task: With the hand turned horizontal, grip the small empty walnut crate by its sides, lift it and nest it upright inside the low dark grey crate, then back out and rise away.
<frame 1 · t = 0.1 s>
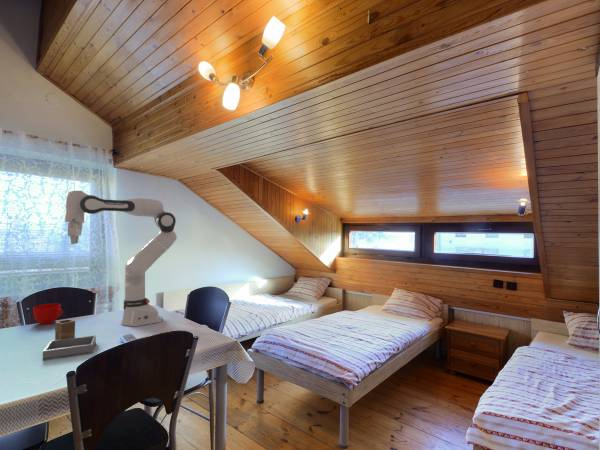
hand: (74, 243, 179), 48 cm above the table, tool pointing down, fingers open, 8 cm apart
walnut crate: (64, 341, 160), on the table
grey crate: (71, 351, 147), on the table
ceramic cup: (49, 323, 190), on the table
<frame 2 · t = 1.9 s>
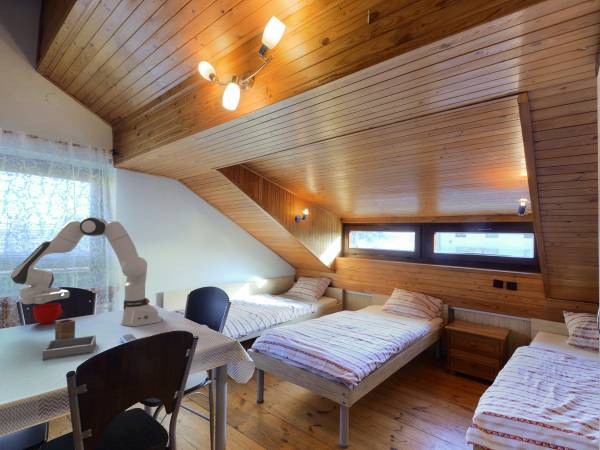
hand: (53, 298, 166), 20 cm above the table, tool horizontal, fingers open, 8 cm apart
nothing on the table moved.
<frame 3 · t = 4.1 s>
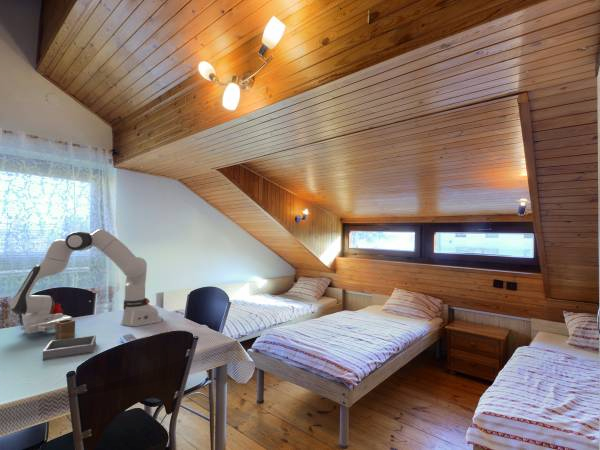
hand: (56, 326, 164), 6 cm above the table, tool horizontal, fingers open, 8 cm apart
nothing on the table moved.
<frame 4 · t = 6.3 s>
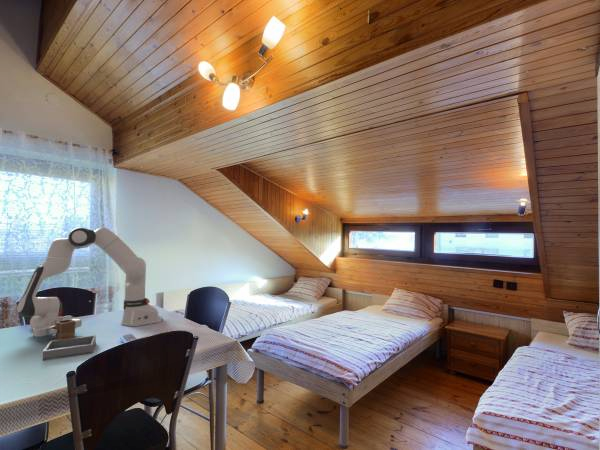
hand: (66, 329, 160), 6 cm above the table, tool horizontal, fingers closed on walnut crate, 6 cm apart
walnut crate: (64, 341, 160), on the table, touching gripper
everything else where it was.
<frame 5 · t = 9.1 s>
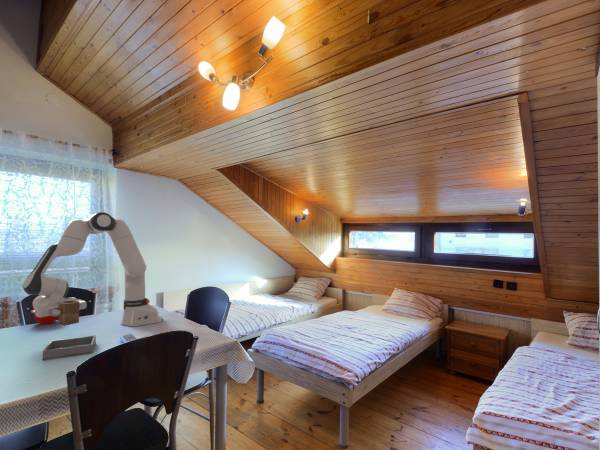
hand: (69, 310, 151), 18 cm above the table, tool horizontal, fingers closed on walnut crate, 6 cm apart
walnut crate: (68, 323, 151), point 12 cm above the table, touching gripper
everything else where it was.
when the fingers open (8 cm above the table, at t = 11.9 s): walnut crate drops 1 cm, resting on grey crate.
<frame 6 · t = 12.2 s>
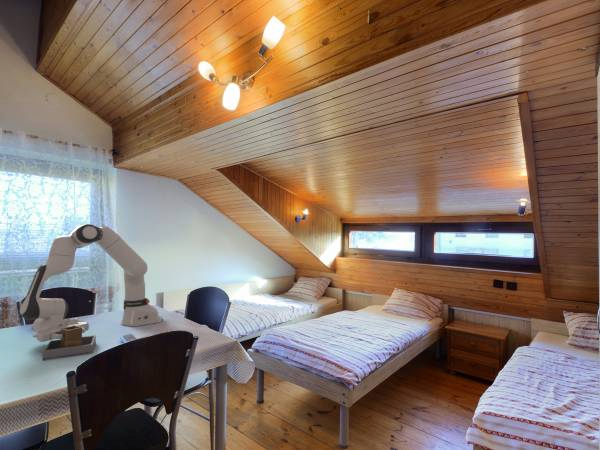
hand: (72, 333, 147), 8 cm above the table, tool horizontal, fingers open, 8 cm apart
walnut crate: (71, 349, 147), point 1 cm above the table, touching grey crate
everything else where it was.
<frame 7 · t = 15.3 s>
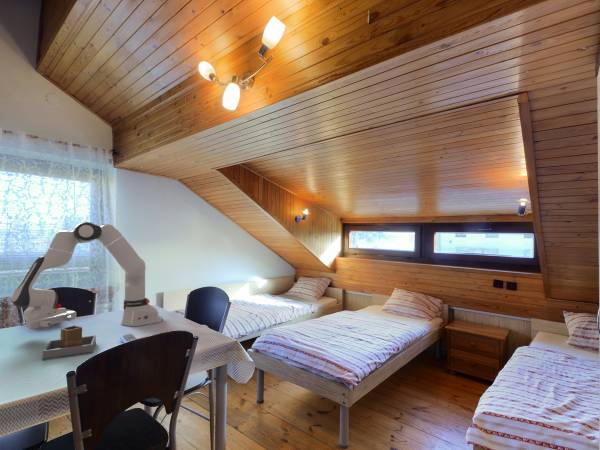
hand: (60, 321, 155), 11 cm above the table, tool horizontal, fingers open, 8 cm apart
nothing on the table moved.
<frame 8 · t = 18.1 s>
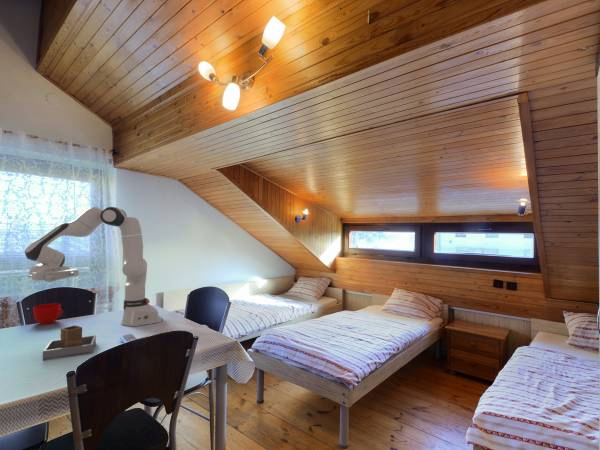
hand: (63, 275, 167), 32 cm above the table, tool horizontal, fingers open, 8 cm apart
nothing on the table moved.
at the end: walnut crate inside the target area on the grey crate (0.0 cm from its centre), point 0.8 cm above the grey crate's base; walnut crate tilted 0°; the gripper is holding nothing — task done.
